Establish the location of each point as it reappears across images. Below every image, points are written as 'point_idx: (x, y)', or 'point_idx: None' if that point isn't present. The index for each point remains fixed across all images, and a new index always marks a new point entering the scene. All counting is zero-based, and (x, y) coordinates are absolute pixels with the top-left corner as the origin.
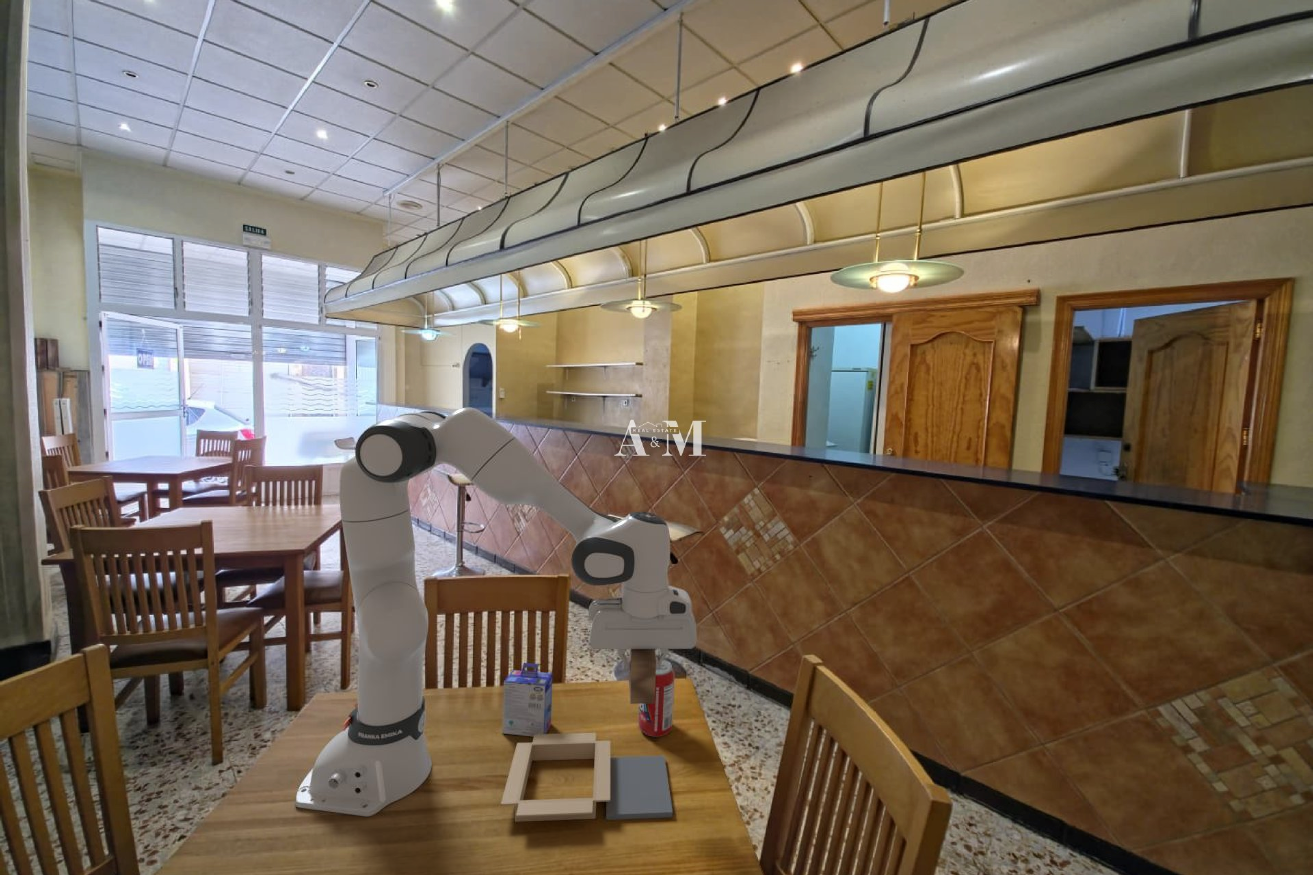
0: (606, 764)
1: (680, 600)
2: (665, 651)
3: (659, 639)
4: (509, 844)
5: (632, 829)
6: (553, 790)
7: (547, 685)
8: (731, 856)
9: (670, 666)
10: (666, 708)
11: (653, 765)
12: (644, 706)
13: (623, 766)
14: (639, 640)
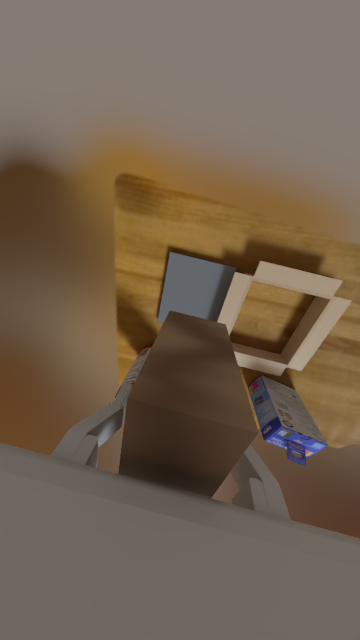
0: (222, 318)
1: None
2: (72, 440)
3: (43, 559)
4: (337, 266)
5: (214, 248)
6: (272, 315)
7: (275, 425)
8: (126, 184)
9: None
10: (140, 362)
11: None
12: None
13: None
14: (191, 585)
